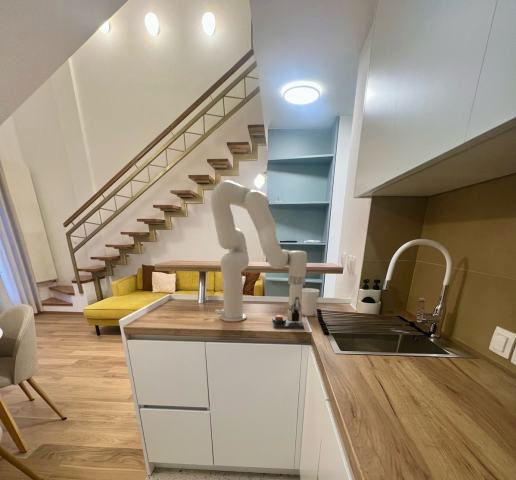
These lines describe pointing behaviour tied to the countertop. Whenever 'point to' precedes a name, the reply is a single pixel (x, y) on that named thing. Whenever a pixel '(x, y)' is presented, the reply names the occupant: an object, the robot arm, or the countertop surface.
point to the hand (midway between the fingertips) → (294, 318)
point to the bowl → (289, 315)
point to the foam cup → (309, 301)
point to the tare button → (279, 317)
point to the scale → (287, 324)
